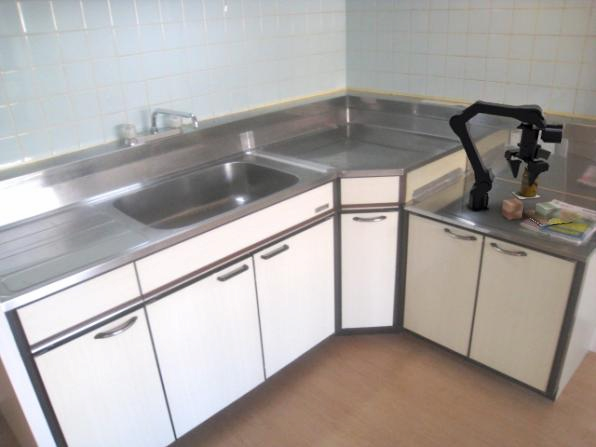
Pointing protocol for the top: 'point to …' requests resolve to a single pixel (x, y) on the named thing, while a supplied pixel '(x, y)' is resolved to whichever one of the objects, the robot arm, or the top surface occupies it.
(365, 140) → the top surface
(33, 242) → the top surface
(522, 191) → the condiment
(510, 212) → the top block
